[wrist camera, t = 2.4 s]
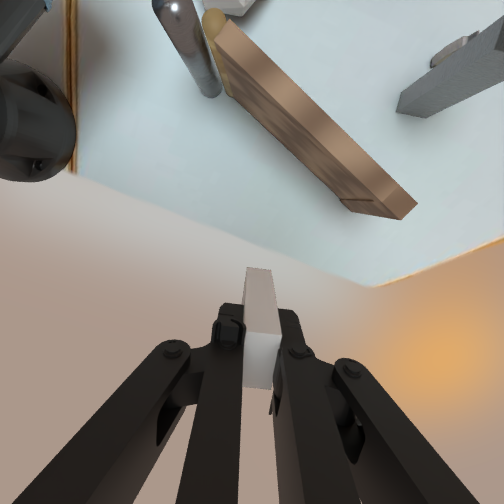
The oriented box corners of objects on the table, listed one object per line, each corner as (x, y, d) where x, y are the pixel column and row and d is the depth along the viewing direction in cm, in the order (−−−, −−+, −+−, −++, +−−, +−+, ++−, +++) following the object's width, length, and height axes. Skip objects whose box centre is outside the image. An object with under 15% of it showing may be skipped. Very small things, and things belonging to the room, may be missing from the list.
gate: (222, 89, 36) (196, 23, 22) (232, 76, 36) (212, 1, 22) (351, 211, 38) (400, 220, 25) (362, 200, 38) (417, 203, 24)
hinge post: (198, 95, 37) (149, 20, 21) (201, 70, 36) (154, -26, 20) (220, 100, 37) (187, 27, 21) (224, 75, 36) (193, -18, 20)
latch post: (393, 113, 36) (507, 40, 19) (400, 90, 36) (523, -6, 19) (426, 120, 36) (569, 53, 19) (433, 97, 36) (587, 8, 19)
